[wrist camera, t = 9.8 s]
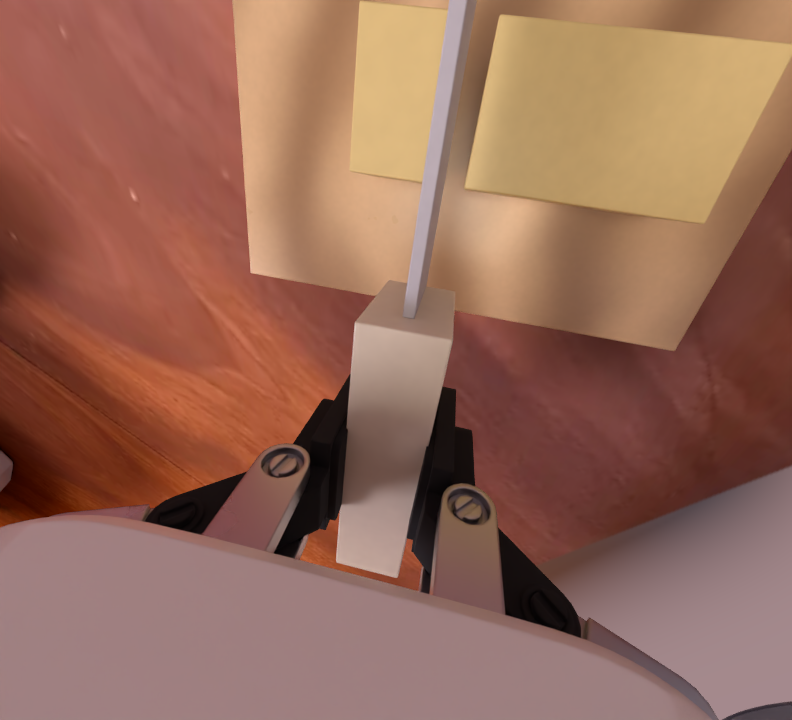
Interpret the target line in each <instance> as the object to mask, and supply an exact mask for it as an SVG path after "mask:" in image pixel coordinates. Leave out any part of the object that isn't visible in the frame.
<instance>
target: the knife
mask: <svg viewBox="0 0 792 720" xmlns="http://www.w3.org/2000/svg"><path fill="white" fill-rule="evenodd" d="M476 3H477V0H449V6H448V13H447V20H446V26H445V33H444V40H443V46H442V53H441V60H440V67H439V73H438V80H437V87H436V93H435V100H434V107H433V114H432V120H431V127H430V134H429V140H428V147H427V154H426V161H425V167H424V174H423V181H422V187H421V194H420V201H419V208H418V214H417V221H416V228H415V235H414V241H413V248H412V255H411V261H410V268H409V275H408V282H407V283H404V282H398V281H393V280H389V281H388V282H387V283H386V284H385V286H384V287H383V288H382V289H381V290H380V292H379V293H378V294H377V295H376V297H375V298H374V299H373V300H372V302H371V303H370V304H369V305H368V307H367V308H366V309H365V310H364V312H363V313H362V314H361V315H360V317H359V318H358V319H357V320H356V322H355V326H354V338H353V351H352V364H351V377H350V389H349V402H348V415H347V429H348V436H347V448H346V460H345V472H344V484H343V495H342V505H341V508H340V517H339V529H338V542H337V555H336V562H337V563H341V564H345V565H348V566H352V567H356V568H360V569H364V570H368V571H372V572H375V573H379V574H383V575H387V576H391V577H395V578H397V577H398V575H399V570H400V566H401V562H402V558H403V553H404V549H405V545H406V540H407V532H408V525H409V519H410V515H411V511H412V507H413V502H414V498H415V494H416V489H417V485H418V481H419V476H420V472H421V468H422V463H423V459H424V455H425V450H426V446H429V442H430V437H431V433H432V429H433V425H434V420H435V416H436V412H437V407H438V403H439V399H440V395H441V390H442V386H443V382H444V377H445V373H446V369H447V365H448V360H449V356H450V352H451V347H452V343H453V329H454V310H455V292H454V291H449V290H444V289H438V288H432V287H427V286H426V285H427V280H428V274H429V268H430V263H431V257H432V251H433V246H434V240H435V235H436V229H437V223H438V218H439V212H440V206H441V201H442V195H443V189H444V184H445V178H446V172H447V167H448V161H449V155H450V150H451V144H452V138H453V133H454V127H455V121H456V116H457V110H458V104H459V99H460V93H461V87H462V82H463V76H464V71H465V65H466V59H467V54H468V48H469V42H470V37H471V31H472V25H473V20H474V14H475V8H476Z"/></svg>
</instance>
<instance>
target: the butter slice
mask: <svg viewBox="0 0 792 720" xmlns="http://www.w3.org/2000/svg"><path fill="white" fill-rule="evenodd" d="M447 13H448V9H443V8H433V7H423V6H413V5H403V4H393V3H383V2H373V1H363V0H361V1H360V3H359V17H358V34H357V50H356V67H355V84H354V100H353V117H352V133H351V150H350V166H349V170H350V171H351V172H355V173H360V174H365V175H370V176H375V177H381V178H388V179H394V180H401V181H408V182H414V183H421V184H422V181H423V174H424V167H425V161H426V154H427V147H428V140H429V134H430V127H431V120H432V114H433V107H434V100H435V93H436V87H437V80H438V73H439V67H440V60H441V53H442V46H443V40H444V33H445V26H446V20H447Z"/></svg>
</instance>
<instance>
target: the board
mask: <svg viewBox="0 0 792 720" xmlns="http://www.w3.org/2000/svg"><path fill="white" fill-rule="evenodd" d="M232 1H233V16H234V31H235V46H236V61H237V76H238V91H239V105H240V120H241V135H242V150H243V165H244V180H245V195H246V210H247V224H248V239H249V254H250V269H251V273H254V274H259V275H264V276H270V277H275V278H281V279H286V280H291V281H297V282H302V283H308V284H313V285H318V286H324V287H329V288H335V289H340V290H345V291H351V292H356V293H362V294H367V295H372V296H376V295H377V294H378V293H379V292H380V290H381V289H382V288H383V287H384V286H385V284H386V283H387V282H388V281H389V280H393V281H398V282H404V283H407V282H408V275H409V268H410V261H411V255H412V248H413V241H414V235H415V228H416V221H417V214H418V208H419V201H420V194H421V187H422V184H421V183H414V182H408V181H401V180H394V179H388V178H381V177H375V176H370V175H365V174H360V173H355V172H351V171H350V170H349V166H350V150H351V133H352V117H353V100H354V84H355V67H356V50H357V34H358V17H359V3H360V1H361V0H232ZM363 1H373V2H383V3H393V4H403V5H413V6H423V7H433V8H443V9H448V6H449V0H363ZM502 14H504V15H514V16H524V17H534V18H544V19H554V20H564V21H574V22H584V23H594V24H604V25H614V26H624V27H634V28H644V29H654V30H664V31H674V32H684V33H694V34H704V35H714V36H724V37H734V38H744V39H754V40H764V41H774V42H784V43H792V0H477V3H476V8H475V14H474V20H473V25H472V31H471V37H470V42H469V48H468V54H467V59H466V65H465V71H464V76H463V82H462V87H461V93H460V99H459V104H458V110H457V116H456V121H455V127H454V133H453V138H452V144H451V150H450V155H449V161H448V167H447V172H446V178H445V184H444V189H443V195H442V201H441V206H440V212H439V218H438V223H437V229H436V235H435V240H434V246H433V251H432V257H431V263H430V268H429V274H428V280H427V285H426V286H427V287H432V288H438V289H444V290H449V291H454V292H455V310H454V311H459V312H464V313H470V314H475V315H481V316H486V317H491V318H497V319H502V320H508V321H513V322H518V323H524V324H529V325H535V326H540V327H545V328H551V329H556V330H562V331H567V332H572V333H578V334H583V335H589V336H594V337H599V338H605V339H610V340H616V341H621V342H627V343H632V344H637V345H643V346H648V347H654V348H659V349H664V350H670V351H675V350H676V348H677V346H678V344H679V343H680V341H681V339H682V338H683V336H684V334H685V332H686V331H687V329H688V327H689V326H690V324H691V322H692V320H693V319H694V317H695V315H696V313H697V312H698V310H699V308H700V307H701V305H702V303H703V301H704V300H705V298H706V296H707V295H708V293H709V291H710V289H711V288H712V286H713V284H714V283H715V281H716V279H717V277H718V276H719V274H720V272H721V271H722V269H723V267H724V265H725V264H726V262H727V260H728V258H729V257H730V255H731V253H732V252H733V250H734V248H735V246H736V245H737V243H738V241H739V240H740V238H741V236H742V234H743V233H744V231H745V229H746V228H747V226H748V224H749V222H750V221H751V219H752V217H753V216H754V214H755V212H756V210H757V209H758V207H759V205H760V203H761V202H762V200H763V198H764V197H765V195H766V193H767V191H768V190H769V188H770V186H771V185H772V183H773V181H774V179H775V178H776V176H777V174H778V173H779V171H780V169H781V167H782V166H783V164H784V162H785V160H786V159H787V157H788V155H789V154H790V152H791V150H792V58H791V60H790V62H789V63H788V65H787V67H786V69H785V71H784V73H783V75H782V77H781V79H780V81H779V83H778V84H777V86H776V88H775V90H774V92H773V94H772V96H771V98H770V100H769V102H768V104H767V105H766V107H765V109H764V111H763V113H762V115H761V117H760V119H759V121H758V123H757V125H756V126H755V128H754V130H753V132H752V134H751V136H750V138H749V140H748V142H747V144H746V145H745V147H744V149H743V151H742V153H741V155H740V157H739V159H738V161H737V163H736V165H735V166H734V168H733V170H732V172H731V174H730V176H729V178H728V180H727V182H726V184H725V186H724V187H723V189H722V191H721V193H720V195H719V197H718V199H717V201H716V203H715V205H714V207H713V208H712V210H711V212H710V214H709V216H708V218H707V220H706V222H705V223H704V224H694V223H687V222H679V221H671V220H663V219H655V218H647V217H640V216H633V215H627V214H620V213H613V212H607V211H600V210H594V209H587V208H580V207H574V206H567V205H560V204H554V203H547V202H540V201H534V200H527V199H520V198H514V197H507V196H501V195H494V194H487V193H481V192H474V191H467V190H464V185H465V180H466V175H467V170H468V165H469V160H470V155H471V150H472V145H473V141H474V136H475V131H476V126H477V121H478V116H479V111H480V106H481V101H482V96H483V91H484V87H485V82H486V77H487V72H488V67H489V62H490V57H491V53H492V48H493V43H494V38H495V34H496V29H497V24H498V19H499V16H500V15H502Z"/></svg>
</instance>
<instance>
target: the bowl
mask: <svg viewBox="0 0 792 720" xmlns="http://www.w3.org/2000/svg"><path fill="white" fill-rule="evenodd" d="M12 469H13V462H12V461H11V459H10V458H9V457H7V456H6V455H5V454H4V453H3V452H2V451H1V450H0V492H1V490H2V489H3V488H4V487H5V486H6V485H7V483H8V482H9V481H10V480H11V475H12Z"/></svg>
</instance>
